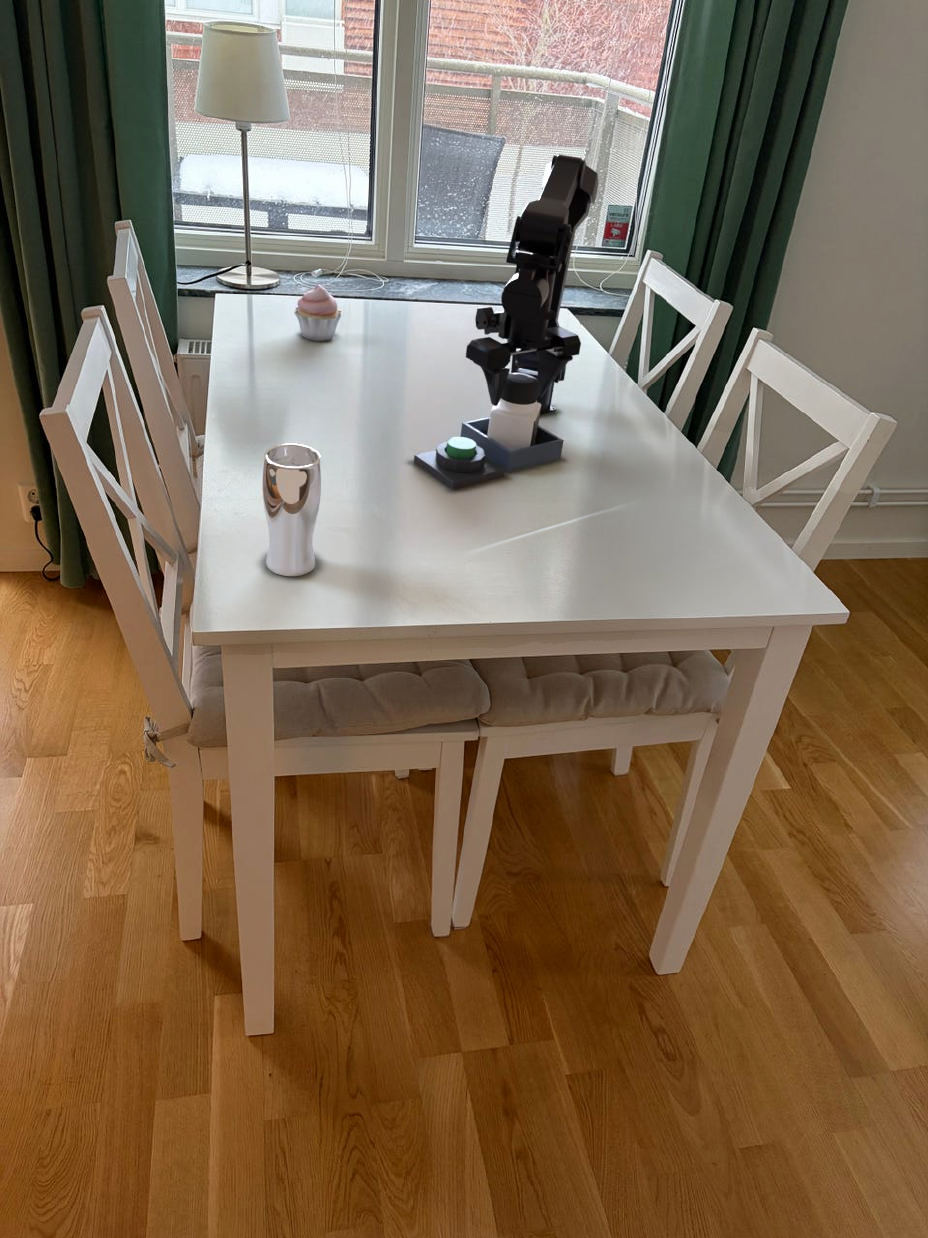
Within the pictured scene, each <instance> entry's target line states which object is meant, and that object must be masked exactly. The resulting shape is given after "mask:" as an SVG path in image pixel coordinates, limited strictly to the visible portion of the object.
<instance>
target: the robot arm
mask: <svg viewBox="0 0 928 1238" xmlns="http://www.w3.org/2000/svg"><path fill="white" fill-rule="evenodd" d="M598 187H599V173H598V172H596V171H595V170H594V169H592V168H591V167H590V166H588V165H587V162H586V160H585V159H583V158H582V157H578V156H571V155H565V154H557V155H553V156H552V159H551V162H549V163H547V164H546V165H545V171H544V174H543V178H542V184H541V192H540V196H539V198H538V199H536V200H533V201H530V202H528V203H527V204H526V205H525V207H524V209H523V210H522V212H521V214H520V215H517V216H516V219H515V222H514V226H513V231H512V235H511V239H510V243H509V247H508V251H507V256H506V261H505V262H506V264H512V265H516V266H515V271H514V274H513V276H512V277H511V278H510V280H509V281H508V282H507V283H506V285H505V287H504V288H503V290H502V292H501V297H500V299H501V306H502V309H503V310H501V311H494V309H493V307H492V306H487V307H486V306H485V307H477V309H476V313H475V318H474V319H475V320H474V321H475V327H476V329H477V330H478V331H481V330H483V331H484V332H483V333H484V335H487V336H486V337H480V338H473V339H471V340H469V342H467V345H466V351H465V358H467V359H468V360H470V361H472V363H473V364H474V365H476V366H479V367H480V368H481V370H482V372H483V375H484V378H485V382H486V385H487V390H488V394H489V398H490V403H491V405H493V406H497V405H498V403H499V401H500V399H501V396H502V393H503V390H504V387H505V383H506V380H507V377H508V374H510V373H524V374H528V375H530V376H532V377H534V378H536V379H537V380H538V382H539V384H540V385H539V391H538V398H537V403H540V404H541V410H540V416H541V415H546V414H551V413H556V412H557V407H555V406H554V405H552V399H553V395H554V387H555V384H559V382H563V381H565V378H566V377H565V376H566V370H567V364H568V363H569V362H570V361H571V362H572V361H573V359H574V356H578V355H580V353H581V352H580V351H581V346H582V342H581V339H580V337H579V335H578V334H576V333H574V332H572V331H569V330H568V329H565V328H564V327H562V326H560V323H559V316H560V311H561V305H562V300H563V297H564V292H565V285H566V281H567V277H568V276H567V275H568V270H569V266H570V262H571V261H570V260H571V255H572V250H573V245H574V241H575V235H576V231H577V229H578V228H579V227H580V226H581V224H583V222H584V221H585V220H586V218H587V217H588V216H589V214H590V209H591V205H594V204H595V202H596V198H597V194H598ZM517 250H518V251H517ZM490 334H497V338H500V339H502V340H506V342H503V343H502V342H500V341H498V340H496V339H495V338H492V337H490V336H489V335H490ZM510 362H511V367H510V368H509V367H507V366H508V365H509V364H510Z"/></svg>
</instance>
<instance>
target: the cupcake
mask: <svg viewBox="0 0 928 1238" xmlns="http://www.w3.org/2000/svg"><path fill="white" fill-rule="evenodd" d="M338 308H339V306H338V302H337V300H336V298H335V297H334V296H332V294H330V293H329V291H327V289H326V288H324V287H323V286H321V285H320V284H318V283H316V285H315V287H314V289H311V290H308V291H307V292H305V293H304V294H303V295H302V297H300V298H299V299H298V300H297V306H296V307H294V311H293V313H294V316H295V317H296V319H297V321H298V325H299V331H300V335H301V336H302V337H303V338H305V339H307V340H311V341H315V342H323V341H330V340H332V339H333V338H334V336H335V335H336V330H337V327H338V323H339V321H340V320H341V317H342V310H340V309H338Z"/></svg>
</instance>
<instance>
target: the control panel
mask: <svg viewBox="0 0 928 1238" xmlns="http://www.w3.org/2000/svg"><path fill="white" fill-rule="evenodd" d="M446 450H447V441H445V442H444V441H443V442H441V443H440V444H438V446H436V449H434V450H429V451H425V452H421V453H420V452H419V453H416V454H414V455H413V464H415V465H416V466H417V467H419V468H420V469H421V470H423V471H424V472H426V473H427V474H429V475H430V476H432V477H433V478H434V479H436V480H437V481H439V482H440V483H441V484H443V485H445V487H447V488H449V489H450V490H451V491H454V490H458V489H462V488H466V487H471V486H475V485H478V484H481V483H485V482H490V481H493V480H498V479H501V478H505V474H506V473H505V472H506V471H505V469H504V468H503V467H501V466H499V465H498V464H496V463H495V462H493V461H492V460H490V459H489V458H487V457H486V456H485V453H484V450H483V449H482V448H480V447H479V446H477V445H476V451H475V456H474V457H472V458H468V459H465V458H456V457H452V456H450V455H448V454H447V453H446Z"/></svg>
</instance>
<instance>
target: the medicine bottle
mask: <svg viewBox="0 0 928 1238" xmlns="http://www.w3.org/2000/svg"><path fill="white" fill-rule="evenodd" d="M539 385H540V384H539V382H538V380H537V379H536V378H534V377H532V376H530V375H528V374H524V373H511V372H509V374H508V377H507V380H506V383H505V387H504V390H503V393H502V396H501V399H500V401H499V403H498V405H497V406H494V405H493V406H492V408H491V410H490V413H489V417H490V420H489V427H488V434H487V436H488V437H490V438H491V439H493V440H494V441H496V442H497V443H499V444H501V445H502V446H504V447H505V448H507V449H509V450H510V451H513V450H517V449H521V448H525V447H530V446H534V444H535V441H536V435H537V429H538V425H539V422H540V416H541V415H540V410H541V404H540V403H537V398H538V391H539Z"/></svg>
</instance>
